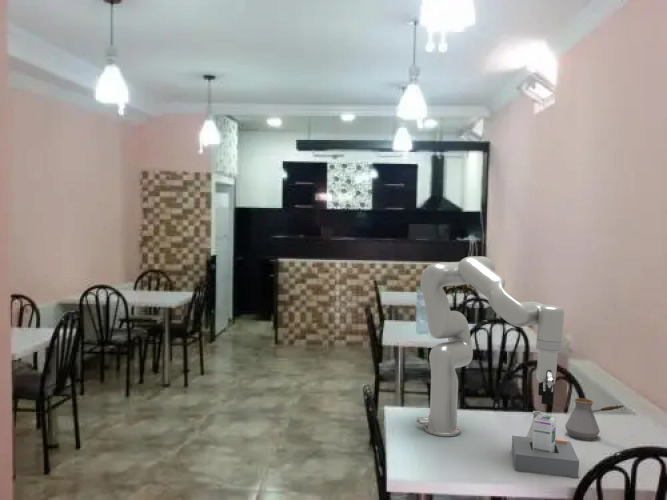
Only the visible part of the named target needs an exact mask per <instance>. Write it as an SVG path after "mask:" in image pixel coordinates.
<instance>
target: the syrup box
mask: <svg viewBox="0 0 667 500" xmlns="http://www.w3.org/2000/svg"><path fill="white" fill-rule="evenodd" d="M532 422H533V446H532V451H541V452H550V453H555V440H556V429H557V428H556V427H557V426H556V425H557V417H555V416H552V415H545V414H542V415H538V416H537V417H535V418H534V419H533V418H532Z"/></svg>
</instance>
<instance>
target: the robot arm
mask: <svg viewBox="0 0 667 500" xmlns="http://www.w3.org/2000/svg"><path fill="white" fill-rule="evenodd" d="M495 266H496V265H495V264H494V262H493V261H492V260H491V259H490V258H488V257H487V256H475V255H473V256H471V255H470V256H467V257H464V258H462V259H461V260H460V261H451V262H446V261H443V262H442V261H441V262H435V263H432V264H430V265H428V266H427V267H426V268H425V269H424V270H423V272H422V274H421V275H420V289H421V292H422V293H421V294H422V297H423V300H424V307H425V313H426V320H427V325H428V329H429V333H430V336H432V338H434V339H437V340H442V339H443V340H445V339H448V341H446V342H441V343H440V342H439V343H438V344H436V345H434V346H433V347H432V348H431V350H430V352H429V356H428V358H429V365H430V377H431V378H430V395H429V396H430V400H429V415H428V416H425V417H422V416H416V423H419V425H424V431H425V432H427V433H428V434H430V435H432V436H433V435H434V436H438V437H456V436H459V435H460V434H461V431H462V430H461V428H460V427H459V426H457V422H458V420H457V418H458V415H457V414H458V397H459V395H458V394H459V379H458V375H457V372H456V369H458V368H462V367H465V366H468V365H469V364H470V363H471V362H472V360H473V356H474V351H473V343H472V338H471V331H470V327H469V326H470V325H469V322H468V320H467V318H466V316H465V315H464V314H463V313H462V312H460V311H458V310H451V309H450V302H449V298H448V296H447V293H446V292H445V290H444V289H443V288H444V287H455V286H456V287H457V286H463V285H471V286H472V287H473V288H474V289H475V290H477V291H478V292H479V293H481V294H482V295H483V296H484V297H485V298H486V299H487V302H488V303H489V305H490V307H491V308H492V310H493V311H494V313H496V315H498V316H499V317H500V318H501V319H503V320H505V321H506V322H507V323H509V325H512V326H513V327H517V328H522V327H528V326H537V330H536V331H537V332H536V341H535V343H536V344H535V349H536V350H538V353H537V354H538V355H537V362H536V363H537V364H536V375H535V377H536V379H537V382H538V389H537V390H538V396H541V404H542V405H549V406H553V403H554V385H555V384H556V378H557V368H558V353H561V352H562V351H563V350H562V348H563V334H564V333H563V332H564V323H565V321H564V320H565V310H564V308H563V307H561V306H558V305H555V304H554V305H553V304H552V305H550V304H544V303H542V302H539V301H531V300H530V301H522V302H520V301H518V300H516V299H515V298H514V297H512V296H511V295H509V293H507V291H505V286H506V280H505V278H504V277H503V276H501V275H500V274H499V273H498V272H496V267H495Z"/></svg>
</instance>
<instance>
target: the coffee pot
mask: <svg viewBox="0 0 667 500" xmlns="http://www.w3.org/2000/svg"><path fill="white" fill-rule="evenodd" d="M573 401H574V402H575V406H574V408H573V410H572V412H571V413H570V416H569V418H568V419H567V421H566V424H565V430H566V432H568V434H570V436H571V437H572V438H575V439H578V440H587V441H590V440H591V441H592V440H593V439H594V438H596V437H597V436H598V435H599V434H600V430H601V429H600V427H599V424H598V422H597V420H596V417H595V414H594V413H599V412H605V411H613V410H615V409H616V410H618V409H620V411H621V412H623V413H625V410H623V409H622V408H624V409H626V408H625V406H624V405H622V404H621V405H615V406H605V407H601V408H597V409H596V408H595V409H592V405H593V404H594V401H593V400H591V399H588V398H582V397H581V398H578V397H577V398H574V399H573Z"/></svg>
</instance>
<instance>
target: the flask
mask: <svg viewBox="0 0 667 500" xmlns="http://www.w3.org/2000/svg"><path fill="white" fill-rule="evenodd" d="M532 414H533V418H532V420H533V419H534V418H535V417H537V416H538V415H543V412H542V411H540V410H539V411H538V410H533V411H532ZM525 437H531V438H533V421H532V422H531V425H530V427H529V430H528V433H527V434H526V436H525Z"/></svg>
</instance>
